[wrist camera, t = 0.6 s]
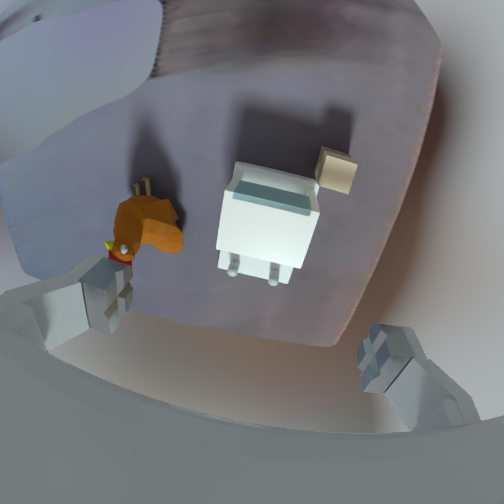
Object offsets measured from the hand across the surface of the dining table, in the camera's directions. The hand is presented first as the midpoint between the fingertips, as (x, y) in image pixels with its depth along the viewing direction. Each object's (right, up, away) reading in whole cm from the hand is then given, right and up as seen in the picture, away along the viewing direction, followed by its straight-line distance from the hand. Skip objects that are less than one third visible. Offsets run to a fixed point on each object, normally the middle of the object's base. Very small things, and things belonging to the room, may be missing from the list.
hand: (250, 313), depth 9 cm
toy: (-15, +9, +36) cm, 40 cm away
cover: (+3, +8, +31) cm, 32 cm away
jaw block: (+11, +14, +28) cm, 34 cm away
